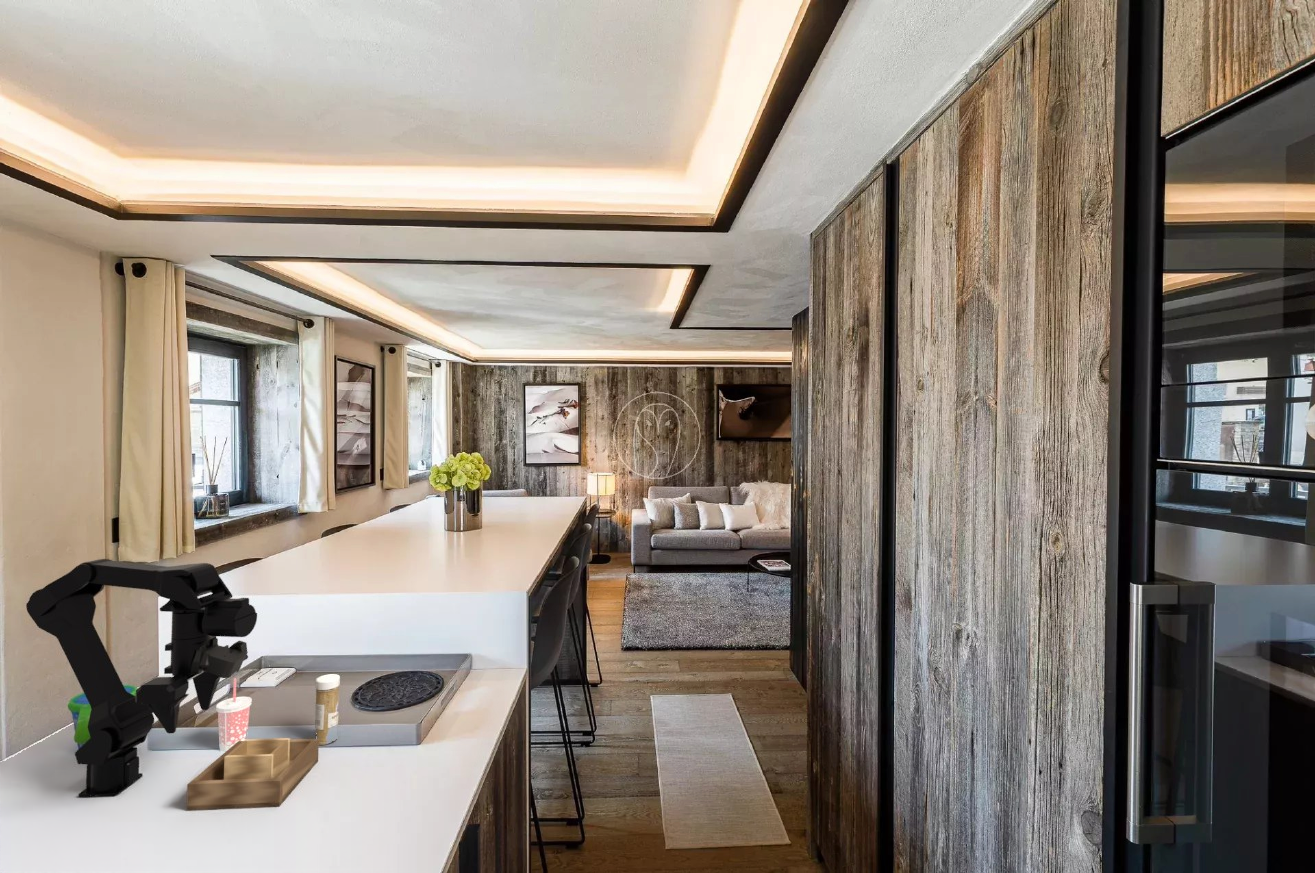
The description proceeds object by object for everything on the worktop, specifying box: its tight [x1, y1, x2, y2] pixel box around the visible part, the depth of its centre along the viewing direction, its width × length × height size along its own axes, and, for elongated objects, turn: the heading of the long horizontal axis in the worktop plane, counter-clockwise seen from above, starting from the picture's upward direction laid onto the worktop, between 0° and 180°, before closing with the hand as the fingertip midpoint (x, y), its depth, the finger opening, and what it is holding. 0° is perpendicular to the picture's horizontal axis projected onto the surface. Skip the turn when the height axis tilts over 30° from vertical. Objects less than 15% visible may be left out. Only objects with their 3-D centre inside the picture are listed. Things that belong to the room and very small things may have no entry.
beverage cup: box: [216, 677, 253, 753], centre depth 125 cm, size 6×6×14 cm
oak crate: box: [224, 737, 291, 780], centre depth 111 cm, size 8×6×6 cm
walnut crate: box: [186, 738, 320, 812], centre depth 111 cm, size 15×15×4 cm
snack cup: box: [67, 684, 139, 749], centre depth 125 cm, size 16×10×10 cm
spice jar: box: [314, 673, 341, 746], centre depth 128 cm, size 5×5×14 cm
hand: (188, 720), depth 109 cm, fingers open, 9 cm apart
